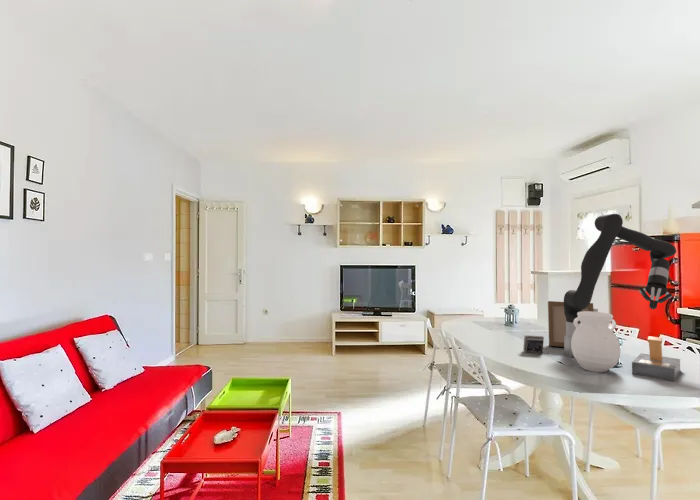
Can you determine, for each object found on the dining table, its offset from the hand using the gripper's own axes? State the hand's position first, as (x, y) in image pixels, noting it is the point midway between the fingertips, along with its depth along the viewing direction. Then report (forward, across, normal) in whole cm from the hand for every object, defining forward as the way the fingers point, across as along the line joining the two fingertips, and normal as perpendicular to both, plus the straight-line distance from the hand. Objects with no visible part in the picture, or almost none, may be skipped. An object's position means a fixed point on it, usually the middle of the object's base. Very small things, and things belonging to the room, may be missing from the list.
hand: (652, 308), depth 180 cm
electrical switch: (+36, -44, +7) cm, 57 cm away
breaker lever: (+26, +4, -2) cm, 27 cm away
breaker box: (+30, +5, +1) cm, 31 cm away
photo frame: (+18, -32, +30) cm, 47 cm away
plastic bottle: (+6, -22, +44) cm, 49 cm away
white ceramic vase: (+40, -16, -7) cm, 44 cm away
